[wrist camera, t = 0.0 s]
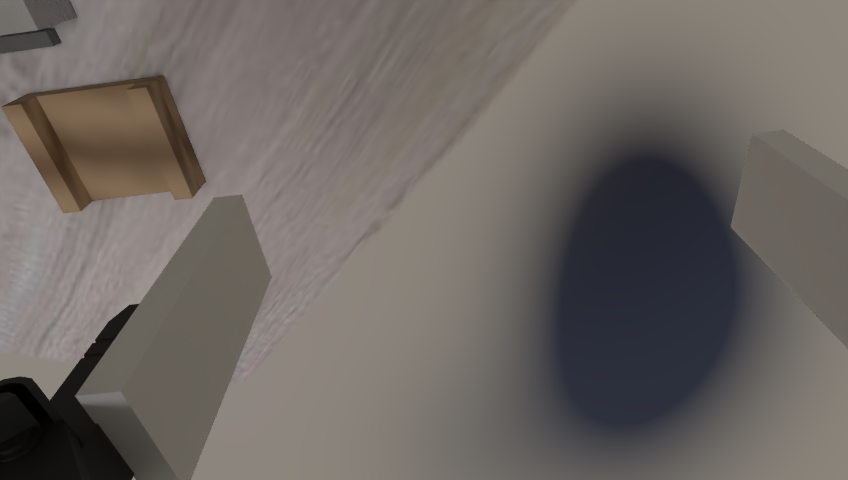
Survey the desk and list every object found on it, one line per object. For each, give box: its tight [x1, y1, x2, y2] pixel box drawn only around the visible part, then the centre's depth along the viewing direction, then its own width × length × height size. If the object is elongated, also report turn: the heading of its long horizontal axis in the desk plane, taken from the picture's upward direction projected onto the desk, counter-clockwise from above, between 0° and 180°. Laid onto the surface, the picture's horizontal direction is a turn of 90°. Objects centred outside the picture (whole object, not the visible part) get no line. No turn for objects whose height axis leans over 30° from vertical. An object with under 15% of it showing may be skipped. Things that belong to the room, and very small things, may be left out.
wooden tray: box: [2, 76, 205, 213], centre depth 41 cm, size 9×11×3 cm
